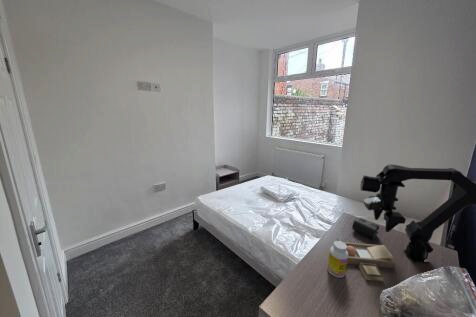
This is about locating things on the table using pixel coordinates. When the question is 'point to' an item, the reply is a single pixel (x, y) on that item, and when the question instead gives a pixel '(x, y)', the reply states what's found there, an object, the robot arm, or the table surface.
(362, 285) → the table surface
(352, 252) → the ball
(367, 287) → the table surface
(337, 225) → the table surface
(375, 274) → the grey framed beige square
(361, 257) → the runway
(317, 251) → the table surface
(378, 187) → the robot arm
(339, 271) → the supplement bottle
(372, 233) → the end cap
